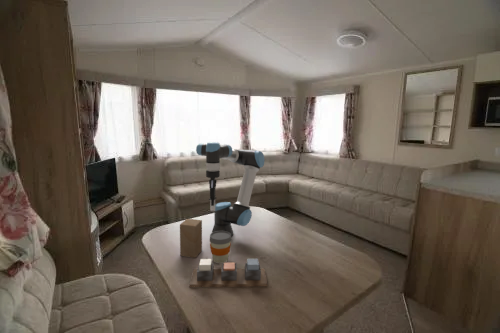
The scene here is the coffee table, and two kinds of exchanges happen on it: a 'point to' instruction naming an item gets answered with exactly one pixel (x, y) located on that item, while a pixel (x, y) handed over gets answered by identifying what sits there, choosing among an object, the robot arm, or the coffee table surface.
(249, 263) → the slate button
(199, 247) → the wooden block
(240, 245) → the coffee table surface
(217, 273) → the console
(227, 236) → the reusable coffee cup
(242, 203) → the robot arm
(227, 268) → the terracotta button
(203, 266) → the cream button
